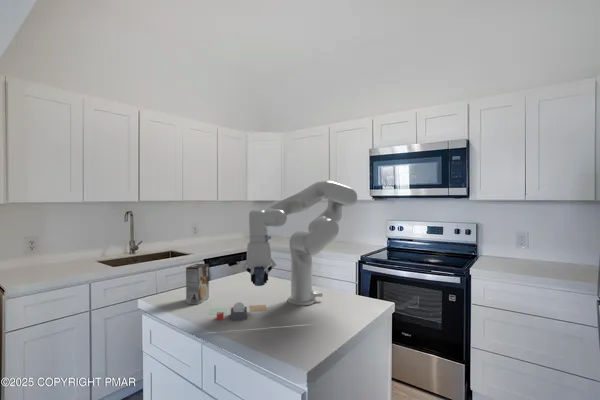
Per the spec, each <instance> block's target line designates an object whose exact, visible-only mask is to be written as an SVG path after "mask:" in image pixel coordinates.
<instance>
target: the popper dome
mask: <svg viewBox="0 0 600 400" xmlns="http://www.w3.org/2000/svg"><path fill="white" fill-rule="evenodd" d="M244 306H245V305H244V303H243V302H241V301H240V302H239V301H238V302H236V303H234V305H233V306H232V307H233V313H234V312H245V307H244Z"/></svg>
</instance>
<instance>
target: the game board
mask: <svg viewBox="0 0 600 400" xmlns="http://www.w3.org/2000/svg"><path fill="white" fill-rule="evenodd" d="M233 307H234V306H230V307H216V308H215V307H213V308H209V313H208V315H209V316H210V315H216V321H223V320H224V318H225V317H224V314H228V309H229V314H230V321H239V320H240V321H241V320H247V319H248V307H249V312H250V313H253V312H264V311H265V312H267V311H268V307H267V305H266V304H257V305H249V306H248V305H244V307H245V312H234V313H233Z"/></svg>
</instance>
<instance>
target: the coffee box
mask: <svg viewBox="0 0 600 400" xmlns="http://www.w3.org/2000/svg"><path fill="white" fill-rule="evenodd" d="M209 267H210V265H209V263H195V264H192V265H190V266H188V267H186V268H185V286H186V287H185V288H186V289H185V301H186V302H185V303H186V304H188V305H189V304H190V305H200V304H202V303H203V302H205V301H206V300H208V299H209V298H210V295H209V294H210V288H209V287H210V285H209V284H210V283H209V281H210V279H209V278H210V277H209V274H210V273H209V272H210V271H209V270H210V268H209Z"/></svg>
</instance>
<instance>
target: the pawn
mask: <svg viewBox="0 0 600 400" xmlns="http://www.w3.org/2000/svg"><path fill="white" fill-rule="evenodd" d="M254 275H255V284H253V286H255V287H256V286H257V287H263V286H264V285H266V283H265V268H264V267H254Z"/></svg>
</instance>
